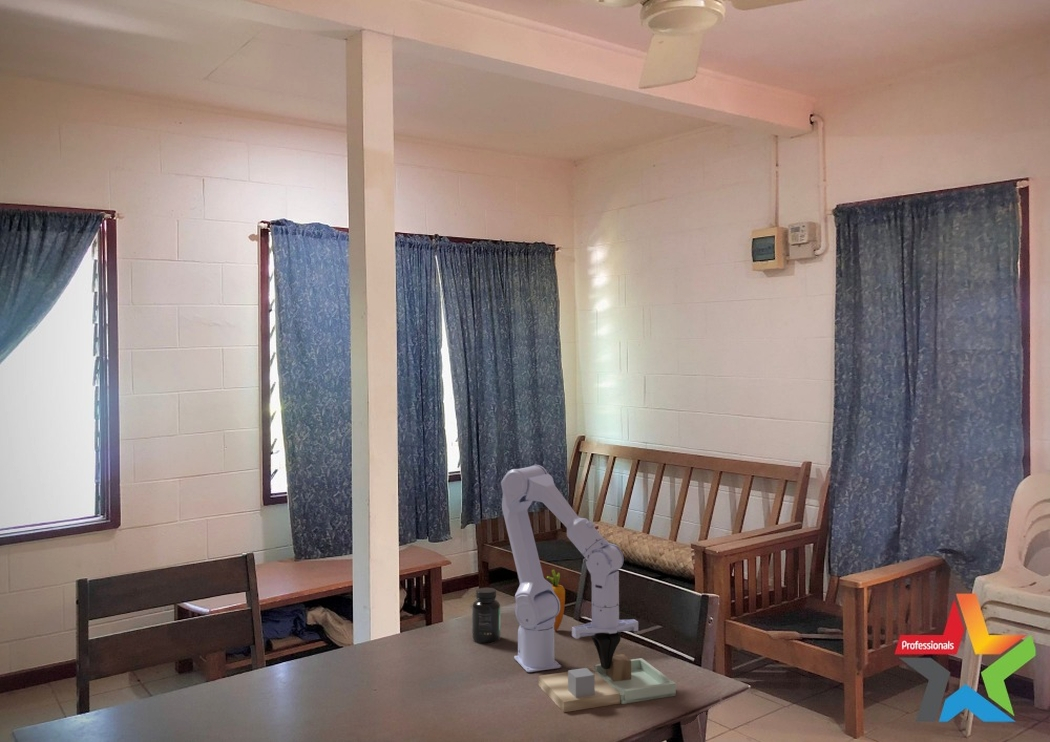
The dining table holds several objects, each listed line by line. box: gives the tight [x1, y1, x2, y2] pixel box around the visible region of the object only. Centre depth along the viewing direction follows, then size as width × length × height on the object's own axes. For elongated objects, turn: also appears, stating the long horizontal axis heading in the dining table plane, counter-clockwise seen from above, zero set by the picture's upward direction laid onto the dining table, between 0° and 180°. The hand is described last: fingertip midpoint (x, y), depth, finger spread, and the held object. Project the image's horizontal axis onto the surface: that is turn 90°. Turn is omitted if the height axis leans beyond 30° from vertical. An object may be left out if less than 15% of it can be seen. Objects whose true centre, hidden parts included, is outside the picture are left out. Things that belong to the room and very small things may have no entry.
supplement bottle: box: [471, 587, 502, 645], centre depth 205 cm, size 7×7×12 cm
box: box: [594, 657, 677, 705], centre depth 176 cm, size 15×12×2 cm
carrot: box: [546, 569, 566, 632], centre depth 211 cm, size 5×5×15 cm
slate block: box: [567, 667, 595, 698], centre depth 168 cm, size 4×4×4 cm
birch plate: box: [538, 668, 621, 713], centre depth 172 cm, size 14×12×2 cm
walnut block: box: [606, 653, 632, 682], centre depth 180 cm, size 4×4×4 cm
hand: (605, 667), depth 179 cm, fingers closed
